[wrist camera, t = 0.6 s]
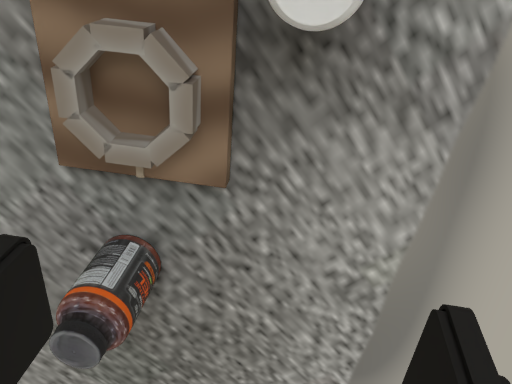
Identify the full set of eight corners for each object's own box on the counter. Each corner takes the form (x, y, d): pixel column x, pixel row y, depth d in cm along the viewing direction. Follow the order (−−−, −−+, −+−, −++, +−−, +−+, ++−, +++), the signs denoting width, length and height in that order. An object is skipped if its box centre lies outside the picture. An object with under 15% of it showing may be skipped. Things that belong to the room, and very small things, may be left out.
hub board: (38, -26, 30) (3, -22, 26) (238, -6, 28) (227, 0, 25) (68, 157, 37) (44, 177, 33) (229, 179, 35) (219, 202, 32)
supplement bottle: (168, 282, 42) (121, 382, 33) (111, 279, 43) (49, 376, 34) (156, 232, 39) (101, 326, 30) (96, 230, 40) (23, 321, 31)
